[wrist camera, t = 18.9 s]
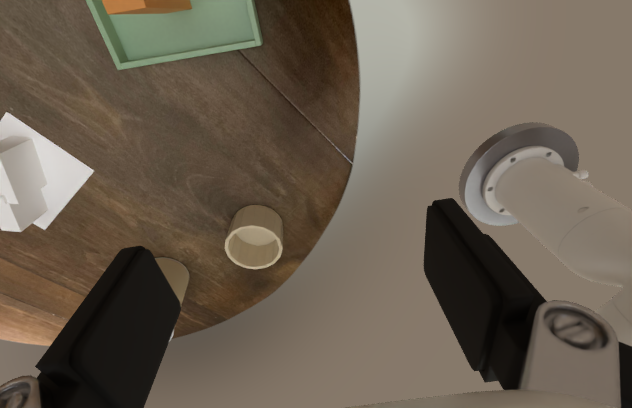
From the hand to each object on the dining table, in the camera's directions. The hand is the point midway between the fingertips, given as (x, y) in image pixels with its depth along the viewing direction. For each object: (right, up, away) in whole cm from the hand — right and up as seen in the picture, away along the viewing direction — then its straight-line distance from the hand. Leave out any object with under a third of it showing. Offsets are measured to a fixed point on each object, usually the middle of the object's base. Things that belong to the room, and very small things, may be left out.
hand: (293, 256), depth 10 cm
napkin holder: (-40, +6, +32) cm, 51 cm away
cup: (-9, -2, +39) cm, 40 cm away
